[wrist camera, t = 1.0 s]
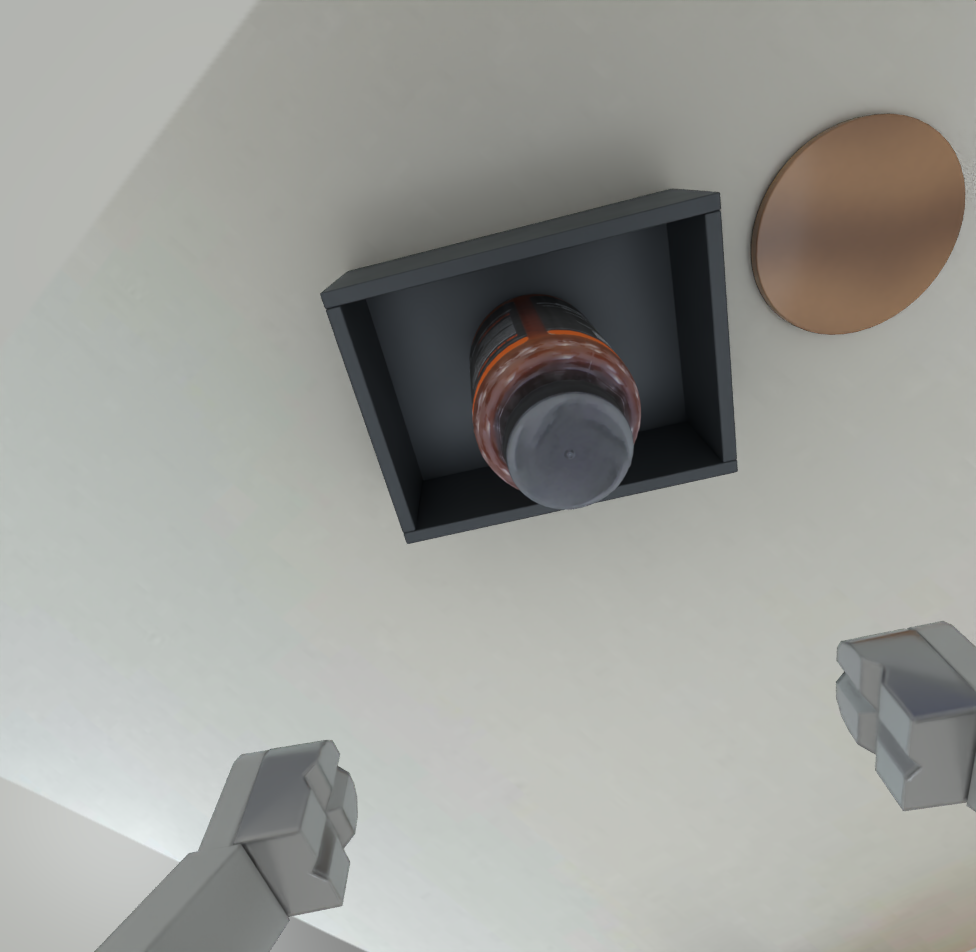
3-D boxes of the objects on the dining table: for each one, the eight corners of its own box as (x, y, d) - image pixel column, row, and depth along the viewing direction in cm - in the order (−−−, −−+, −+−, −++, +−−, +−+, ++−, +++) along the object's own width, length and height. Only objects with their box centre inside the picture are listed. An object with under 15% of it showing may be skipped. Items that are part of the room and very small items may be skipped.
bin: (346, 271, 28) (319, 293, 23) (672, 188, 27) (720, 191, 22) (416, 487, 33) (406, 544, 28) (695, 424, 32) (738, 472, 27)
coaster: (745, 146, 26) (751, 145, 26) (966, 89, 25) (977, 87, 25) (754, 351, 30) (760, 354, 29) (946, 306, 29) (955, 309, 29)
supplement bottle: (458, 403, 30) (454, 521, 20) (482, 278, 28) (491, 340, 17) (577, 425, 31) (632, 550, 21) (611, 305, 28) (693, 379, 18)
